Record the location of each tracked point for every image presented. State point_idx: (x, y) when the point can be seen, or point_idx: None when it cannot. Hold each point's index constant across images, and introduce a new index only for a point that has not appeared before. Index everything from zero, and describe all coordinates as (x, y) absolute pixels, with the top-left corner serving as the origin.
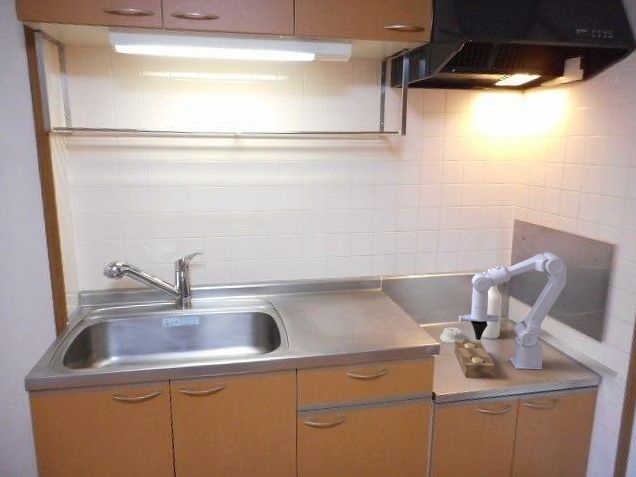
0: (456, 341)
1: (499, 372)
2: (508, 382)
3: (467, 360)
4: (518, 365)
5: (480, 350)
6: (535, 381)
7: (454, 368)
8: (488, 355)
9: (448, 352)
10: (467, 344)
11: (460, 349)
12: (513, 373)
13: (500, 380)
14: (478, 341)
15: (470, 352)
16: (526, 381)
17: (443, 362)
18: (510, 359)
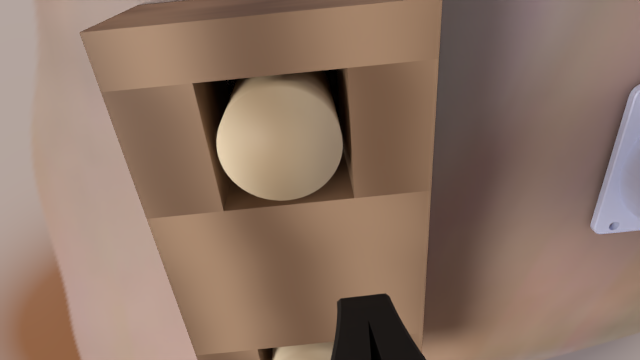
0: (105, 53)
1: (454, 277)
2: (462, 355)
3: None
4: (627, 209)
5: (374, 239)
6: (614, 328)
7: (165, 275)
8: (421, 310)
9: (77, 16)
10: (251, 137)
11: (174, 248)
12: (538, 275)
13: (427, 346)
14: (413, 7)
15: (270, 286)
16: (565, 335)
17: (72, 211)
18: (628, 115)
